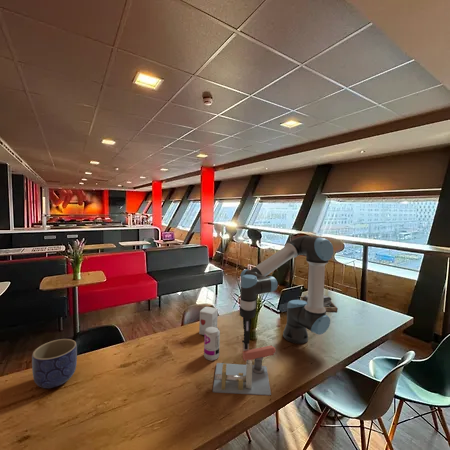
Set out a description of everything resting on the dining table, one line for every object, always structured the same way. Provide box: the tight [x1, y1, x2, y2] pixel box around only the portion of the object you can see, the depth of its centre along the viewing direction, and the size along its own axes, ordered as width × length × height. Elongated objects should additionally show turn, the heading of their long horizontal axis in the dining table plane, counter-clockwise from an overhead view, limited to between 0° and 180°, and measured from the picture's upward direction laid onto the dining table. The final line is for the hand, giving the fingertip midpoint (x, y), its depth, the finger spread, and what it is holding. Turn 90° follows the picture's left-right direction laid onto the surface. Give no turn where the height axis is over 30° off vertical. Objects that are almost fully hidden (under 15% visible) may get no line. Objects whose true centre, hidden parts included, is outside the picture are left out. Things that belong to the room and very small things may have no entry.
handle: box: [242, 345, 277, 362], centre depth 121 cm, size 18×5×4 cm, turn 111°
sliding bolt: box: [213, 360, 253, 389], centre depth 109 cm, size 16×3×11 cm, turn 87°
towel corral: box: [300, 296, 338, 313], centre depth 207 cm, size 25×22×3 cm
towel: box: [303, 294, 332, 307], centre depth 207 cm, size 15×18×8 cm
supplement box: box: [198, 306, 219, 336], centre depth 157 cm, size 9×9×15 cm
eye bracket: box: [222, 363, 243, 390], centre depth 110 cm, size 9×6×8 cm, turn 86°
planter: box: [31, 338, 78, 389], centre depth 111 cm, size 17×17×15 cm
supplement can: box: [203, 326, 221, 361], centre depth 132 cm, size 8×8×15 cm
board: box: [212, 359, 272, 396], centre depth 115 cm, size 25×19×7 cm
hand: (245, 353), depth 121 cm, fingers closed
